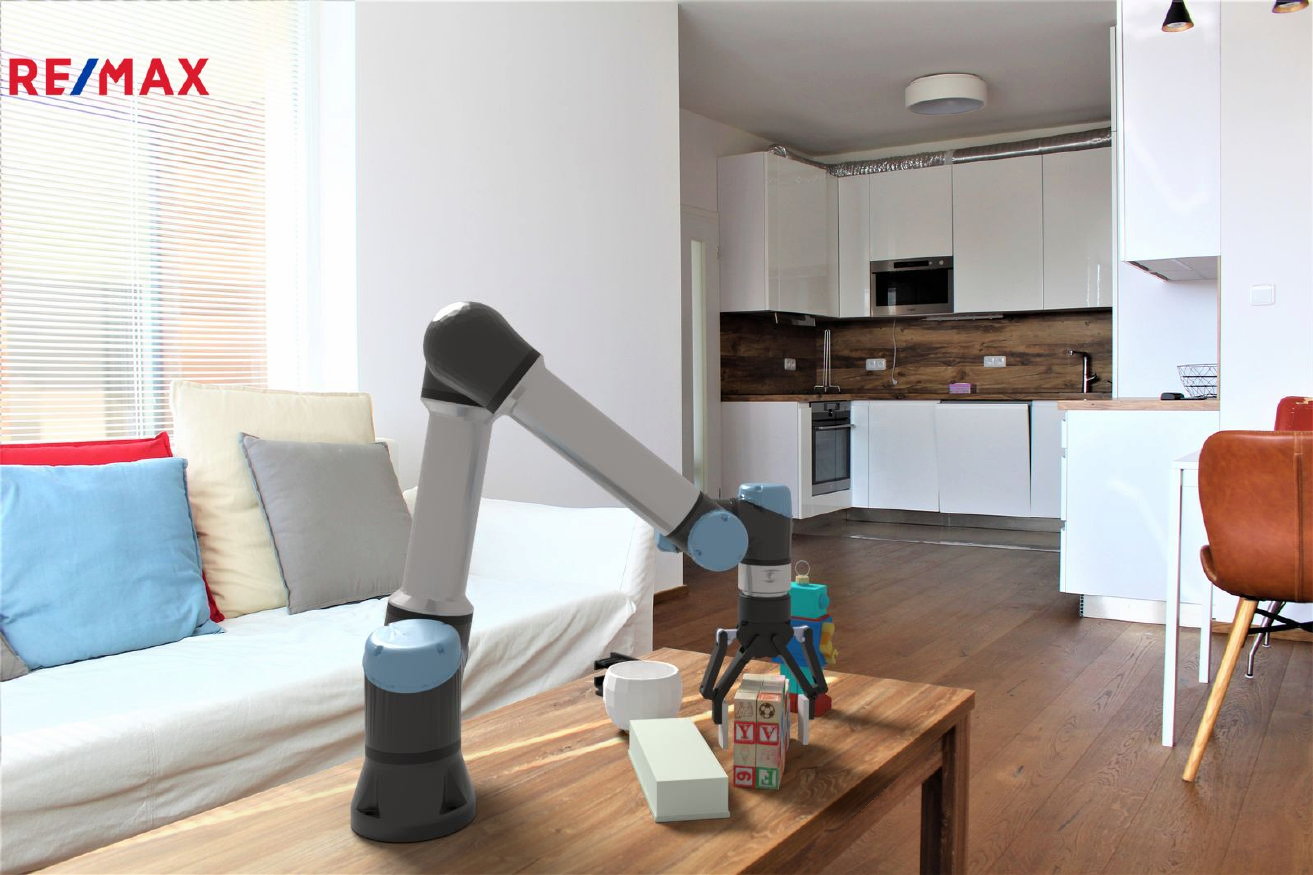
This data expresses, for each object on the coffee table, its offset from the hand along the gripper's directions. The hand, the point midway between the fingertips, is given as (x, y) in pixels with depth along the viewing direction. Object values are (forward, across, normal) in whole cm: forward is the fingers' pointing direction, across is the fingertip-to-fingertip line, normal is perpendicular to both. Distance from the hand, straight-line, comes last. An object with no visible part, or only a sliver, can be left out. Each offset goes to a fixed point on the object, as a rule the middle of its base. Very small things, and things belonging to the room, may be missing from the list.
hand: (763, 744), depth 147 cm
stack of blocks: (+3, 0, +1) cm, 3 cm away
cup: (+3, -15, +16) cm, 22 cm away
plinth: (+3, -14, -6) cm, 15 cm away
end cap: (+3, -15, +35) cm, 38 cm away
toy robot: (+3, +13, +23) cm, 27 cm away
